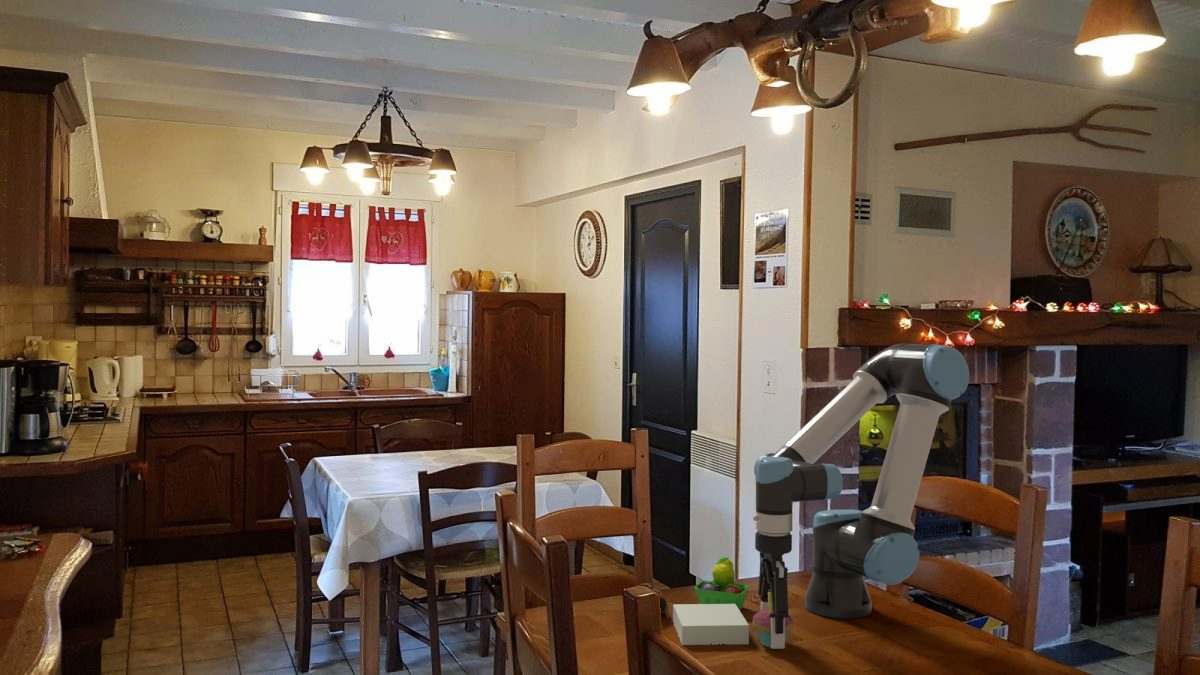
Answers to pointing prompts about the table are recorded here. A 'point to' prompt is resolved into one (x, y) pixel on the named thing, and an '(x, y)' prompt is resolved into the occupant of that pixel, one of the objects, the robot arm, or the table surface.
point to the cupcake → (768, 624)
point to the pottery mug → (662, 600)
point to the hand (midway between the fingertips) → (772, 640)
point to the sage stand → (710, 624)
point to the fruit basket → (722, 586)
